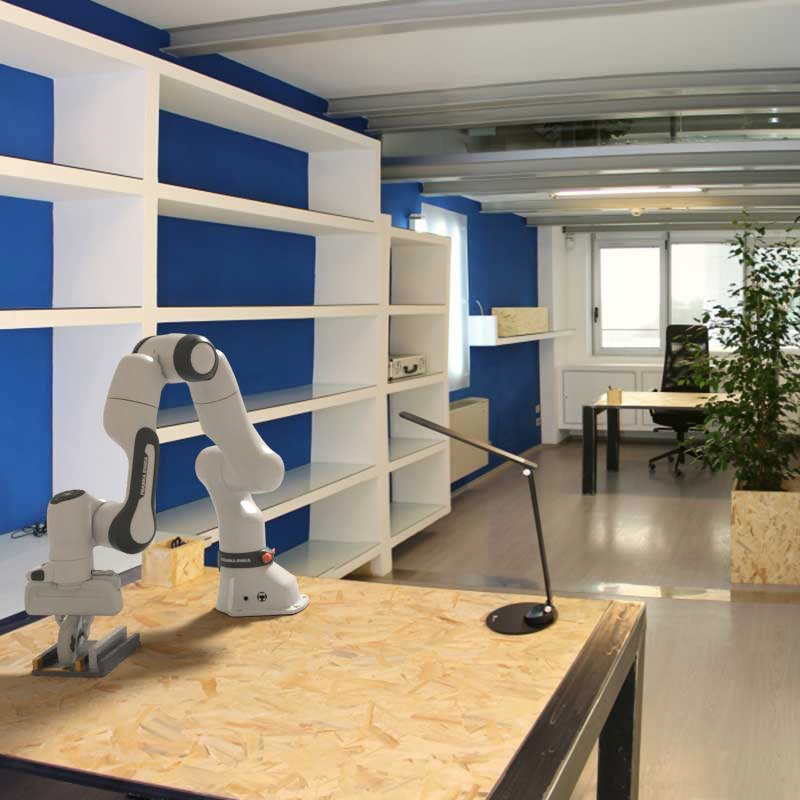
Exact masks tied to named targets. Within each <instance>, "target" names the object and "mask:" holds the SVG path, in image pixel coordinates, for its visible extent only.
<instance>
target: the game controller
mask: <svg viewBox="0 0 800 800" xmlns="http://www.w3.org/2000/svg"><path fill="white" fill-rule="evenodd" d="M64 619H65V621H64V622H63V624H62V625H61V627H59V630H58V635H57V642H56V643H57V653H58V659H59V662H60V664H62V665H71V664H73V663H74V661H75V659H76V655H77V651H78V650H79V648H80V646H81V645H82V643H83V642H86V641H87V640H89V637H90V635H89V636H80V628H81V627H82V626H84V625H85V623H86V621H87V620H86V621H84V616H75V615H66V617H65V618H64Z"/></svg>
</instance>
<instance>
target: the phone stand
mask: <svg viewBox="0 0 800 800" xmlns="http://www.w3.org/2000/svg"><path fill="white" fill-rule="evenodd" d="M127 628H128V626H127V625H118V626H117V627H115V628H114V629H113V630H111V631H110V632H108V633H107V634H106V635H105V636H104V637H102V638H101V639H98V640H97V639H96V640H95V639H94V640H93V639H87V641H86V642H83V643H82V645H81V646H80V648H79V650H78V651H77V655H76V659H75V661H74V663H73V664H71V665H62V664H60V662H59V659H58V653H57V642H56V643H55V644H53V645H52V646H50V647H49V648H48V649H46V650H45V651H43V652H41V653H40V654H39V655H37V656H36V657H34V658H33V659H32V670H31V676H32V675H44V676H43V677H76V676H82V677H83V678H85V677H86V678H104V677H106V676H107V675H108V674H109V673H110V672H112V671H113V670H114V669H115V668H116V667H118V666H119V665H120V664H121V663H122V662H124V661H125V660H126V659H127V658H128V657H130V656H131V655H132V654H133V653H134V652H135V651H136V649H137V648H138V649H139V648H140V647H141V646H142V641H141V637H140V636H141V634H140V632H134V633H132V635H131V636H128V631H127ZM138 649H137V650H138ZM132 652H133V653H132ZM131 653H132V654H131ZM130 654H131V655H130ZM125 658H126V659H125ZM124 659H125V660H124ZM119 663H120V664H119ZM118 664H119V665H118ZM49 675H50V676H49ZM57 675H58V676H57ZM82 677H81V678H82Z"/></svg>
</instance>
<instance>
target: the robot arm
mask: <svg viewBox="0 0 800 800" xmlns="http://www.w3.org/2000/svg"><path fill="white" fill-rule="evenodd" d="M180 383H186V384H187V386H188V388H189V392H190V396H191V399H192V402H193V406H194V409H195V411H196V414H197V418H198V421H199V424H200V427H201V431H202V432H203V434H205V436H206V437H208V438H209V439H210V440H211V441H212V442H213V443H214V444H215V445H212V446H207V447H205V448H204V449H202V450H200V452H199V454H198V455H197V457H196V459H195V464H194V471H195V474H196V477H197V479H198V480H199V481H200V482H201V483H202V484H203V485H204V487H205V488H206V490H207V492H208V494H209V497H210V499H211V502H212V504H213V507H214V510H215V515H216V518H217V519H216V520H217V529H218V544H219V546H218V547H219V548H218V549H217V568H218V572H219V579H218V580H219V583H218V591H217V597H216V601H215V606H214V607H215V610H217V611H219V612H222V613H225V614H227V616H230V617H253V616H255V617H256V616H272V615H275V616H276V615H278V616H279V615H291V614H292V615H293V614H296V613H300V611H303V610H305V608H307V606H308V605H309V603H310V598H309V596H308V595H307V594H304V593H300V588H299V584H298V581H297V580H298V579H297V577H296V576H295V575H294V574H293V573H290V571H288V570H287V569H285V568H283V567H282V566H281V565H279V564H278V563H277V562H275V553H276V552H275V551H276V549H275V548H273V549H271V548H269V547H268V546H267V545H266V526H265V525H266V524H265V515H264V514H263V510H261V509H260V508H259V507H258V505H256V502H255V501H254V499H253V497H252V494H253V495H258V494H259V495H261V494H265V493H271V492H274V491H276V490H277V489H278V488H279V487H280V486H281V484H282V482H283V480H284V476H285V464H284V461H283V459H282V457H281V455H279V454H278V453H276V452H275V451H274V450H272V449H271V448H270V447H269V446H268V445H267V444H266V443H265V441H264V440H263V439H262V437H261V435H260V434H259V433H258V431H257V429H256V428H255V426H254V425H253V423H252V422H251V419H250V416H249V414H248V412H247V409H246V406H245V403H244V400H243V397H242V394H241V391H240V387H239V384H238V381H237V379H236V376H235V374H234V372H233V369H232V367H231V365H230V363H229V360H228V358H227V357H226V355H225V354H224V353H223V352H222V351H221V350H219V349H216V347H215V345H214V344H213V343H212V342H211V341H210V340H209V339H208V338H207V337H205V336H203V335H200V334H195V333H189V334H186V333H168V334H163V335H162V334H161V335H157V334H156V335H150V336H147V337H144V338H142V339H141V340H140V341H138V343H136V344H135V345H134V347H133V349H132V352H131V353H130V354H126V355H125V356H123V357H122V358H120V360H119V363H118V364H117V367H116V369H115V370H114V373H113V376H112V379H111V382H110V385H109V387H108V391H107V396H106V400H105V404H104V408H103V414H102V415H103V416H102V420H103V422H102V424H103V429H104V431H105V433H106V434H107V435H108V437H109V438H110V439H111V441H113V442H114V443H115V444H116V445H118V446H119V447H120V448H121V449H122V450H123V451H124V453H125V454H126V457H127V460H128V472H127V481H126V490H125V497H124V500H123V502H118V501H112V500H108V499H102V498H98V497H96V496H94V495H91V494H89V493H87V491H86V490H83V489H71V490H70V489H68V490H65V491H61V492H58V493H56V494H55V495H53V497H51V498H50V500H49V502H48V505H47V509H46V535H47V539H48V544H49V552H48V562H45V563H42V564H40V565H37V566H35V567H34V568H32V569H30V570H28V571H27V572H26V573H25V577H26V581H28V582H27V584H26V585H25V587H24V599H23V600H24V601H23V602H24V603H23V604H24V606H23V607H24V610H25V612H26V613H27V615H30V616H54V621H55V622H56V624H57V625H58V627H59V628H60V627H61V625H62V624H63V622H64V621H65V619H66V618H67V616H68V615H75V616H84V621H86V620H87V621H86V623H85V625H84V626H82V627H81V628H80V636H89V637H90V634H91V625H92V624H93V622H94V620H95V617H115V616H117V615H118V614H120V613H121V612H122V610H123V609H124V600H123V594H122V593H123V592H122V590H121V589H122V580H121V579H122V577H121V576H120V575H119V573H118V572H115V571H114V570H113V569H112V570H111V569H107V570H101V569H95V559H94V558H95V554H94V548H95V547H98V546H99V547H103V548H107V549H113V550H115V551H117V552H118V551H119V552H121V553H123V554H126V555H137V554H139V553H142V552H143V551H145V550H146V549H147V548H148V547H150V545H151V543H152V542H153V541H154V539H155V537H156V533H157V515H156V514H157V513H156V496H157V487H158V477H159V467H160V466H159V465H160V454H161V453H160V450H161V448H160V438H159V435H158V433H157V419H158V411H159V408H160V407H159V406H160V402H161V401H160V400H161V394H162V393H161V392H162V391H163V389H164V387H165V386H166V384H180Z"/></svg>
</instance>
